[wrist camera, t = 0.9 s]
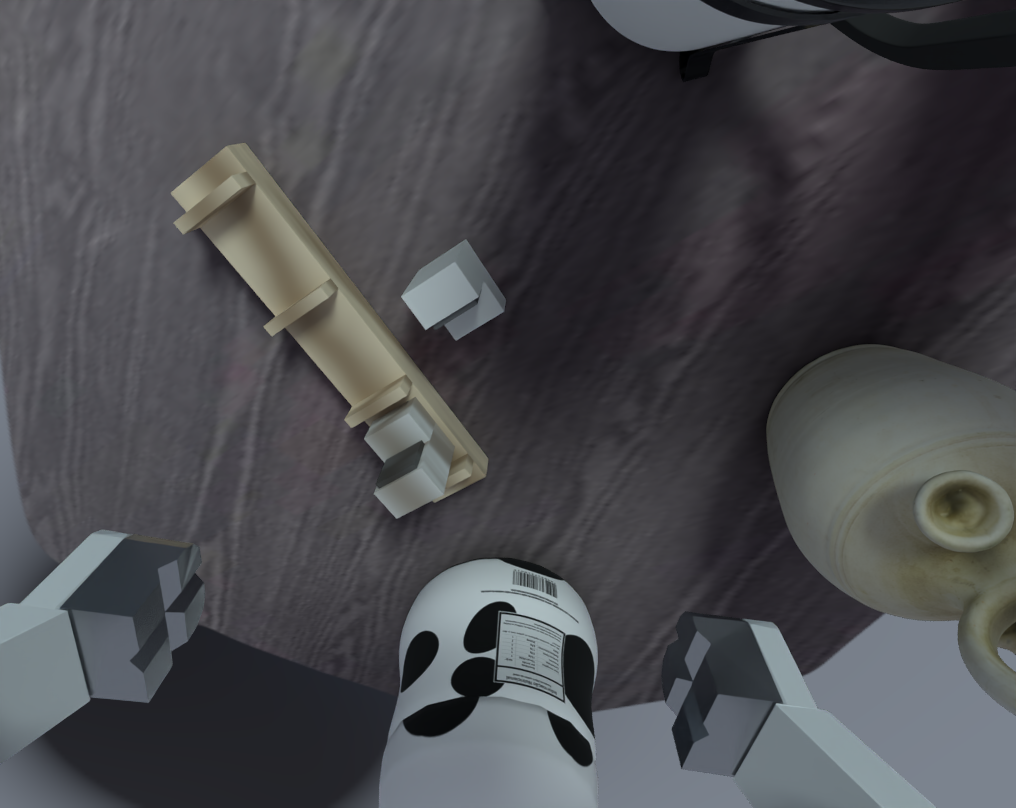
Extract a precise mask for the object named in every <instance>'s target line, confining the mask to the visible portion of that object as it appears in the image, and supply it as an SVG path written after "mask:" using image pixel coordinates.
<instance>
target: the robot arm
mask: <svg viewBox="0 0 1016 808" xmlns="http://www.w3.org/2000/svg"><path fill="white" fill-rule="evenodd" d="M201 563H202V560H201V554H200V547H199V546H197V545H195V544H191V543H185V542H179V541H173V540H167V539H161V538H154V537H148V536H142V535H136V534H133V535H132V534H126V533H120V532H114V531H108V530H100V531H97V532H95V533H92V534H91V535H90V536H89V537H87V538H86V539H85V540H84V541H83V542H82V543H81V544H80V545H79V546H78V547H77V548H76V549H75V550H74V551H73V552H72V553H71V554H70V555H69V556H68V557H67V558H66V559H65V560H64V561H63V562H62V563H61V564H60V565H59V566H58V567H57V568H56V569H55V570H54V571H53V572H52V573H51V574H50V575H49V576H48V577H47V578H46V579H45V580H44V581H42V583H41V584H40V585H38V586H37V587H36V588H35V589H34V590H33V591H32V592H31V593H30V594H29V595H28V596H27V597H26V598H25V599H24V600H23V601H22V602H21V603H20V604H13V603H8V604H5V605H3V606H1V607H0V764H2V763H3V762H5V761H6V760H7V759H9V758H10V757H11V756H13V755H15V754H16V753H17V752H19V751H20V750H21V749H23V748H24V747H26V746H27V745H29V744H30V743H31V742H33V741H34V740H36V739H37V738H38V737H39V736H41V735H42V734H44V733H45V732H47V731H48V730H50V729H51V728H52V727H54V726H55V725H57V724H58V723H59V722H61V721H62V720H64V719H65V718H66V717H68V716H69V715H71V714H72V713H73V712H75V711H76V710H78V709H79V708H80V707H82V706H83V705H85V704H86V703H87V702H89V701H90V697H95V698H105V699H116V700H126V701H137V702H148V703H149V701H150V700H151V698H152V696H153V695H154V693H155V692H156V690H157V689H158V687H159V686H160V684H161V682H162V681H163V679H164V678H165V676H166V675H167V673H168V672H169V670H170V668H171V667H172V665H173V664H172V657H171V651H172V650H174V649H176V648H177V647H179V646H180V645H182V644H184V643H185V642H187V641H188V640H189V638H190V636H191V635H192V633H193V631H194V630H195V628H196V627H197V624H198V621H199V619H200V616H201V613H202V610H203V606H204V598H205V588H204V582H203V581H202V580H201V579H200V578H199V577H198V576H197V575H196V573H195V572H196V570H197V569H198V567H199V566H200V564H201ZM676 631H677V634H678V638H679V639H677V640H676V641H674V642H673V643H671V644H670V645H668V647H667V650H666V653H665V655H664V658H663V665H662V675H661V677H662V689H663V693H664V698H665V703H666V704H667V705H668V706H669V708H670V709H671V710H672V711H673V712H674V713H675V714H676V716H677V718H676V720H675V722H674V725H673V727H672V732H673V736H674V740H675V744H676V749H677V752H678V756H679V761H680V765H681V769H685V770H692V771H698V772H704V773H711V774H718V775H724V776H731V777H734V779H733V780H734V782H735V783H736V785H737V786H738V787H739V789H740V790H741V791H742V793H743V794H744V795H745V797H746V798H747V800H748V801H749V802H750V804H751V805H752V806H753V808H936V807H935V806H934V805H933V804H932V803H931V802H929V801H928V800H927V799H926V798H925V797H924V796H923V795H922V794H920V793H919V792H918V791H917V790H916V789H915V788H914V787H913V786H912V785H910V784H909V783H908V782H907V781H906V780H905V779H904V778H903V777H901V776H900V775H899V774H898V773H897V772H896V771H895V770H893V769H892V768H891V767H890V766H889V765H888V764H887V763H886V762H885V761H884V760H882V759H881V758H880V757H879V756H878V755H877V754H876V753H875V752H873V751H872V750H871V749H870V748H869V747H868V746H866V744H865V743H863V742H862V741H861V740H860V739H859V738H858V737H857V736H856V735H854V734H853V733H852V732H851V731H850V730H849V729H848V728H847V727H845V726H844V725H843V724H842V723H841V722H840V721H839V720H838V719H836V718H835V717H834V716H833V715H832V714H831V713H830V712H829V711H827V710H822V709H818V707H817V705H816V703H815V701H814V699H813V697H812V695H811V693H810V691H809V689H808V687H807V685H806V683H805V681H804V679H803V677H802V675H801V673H800V671H799V669H798V667H797V665H796V663H795V661H794V659H793V657H792V655H791V653H790V651H789V649H788V647H787V645H786V643H785V641H784V639H783V637H782V635H781V633H780V631H779V629H778V627H777V626H776V625H775V624H773V623H772V622H766V621H758V620H750V619H740V618H733V617H725V616H718V615H710V614H702V613H694V612H686V611H685V612H684V613H683V614H682V615H681V616H680V618H679V620H678V622H677V625H676Z"/></svg>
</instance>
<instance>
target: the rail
mask: <svg viewBox="0 0 1016 808" xmlns="http://www.w3.org/2000/svg"><path fill="white" fill-rule="evenodd" d="M171 194H172V195H173V196H174V198H175V199H176V200H177V201H178V202H179V204H180V205H181V206H182V207H183V208H184V209H185V211H186V213H185V214H184V215H183V216H181V217H180V218H179V219H178V220H177V221H175V222H174V224H175V225H176V227H177V228H178V229H179V230H180V231H181V232H182V233H183V234H186V233H188V232H191V231H193V230H196V229H198V228H201V229H202V231H203V232H204V233H205V234H206V235H207V236H208V238H209V239H210V240H211V241H212V242H213V243H214V245H215V246H216V247H217V248H218V249H219V251H220V252H221V253H222V254H223V255H224V256H225V258H226V259H227V260H228V261H229V262H230V263H231V265H232V266H233V267H234V268H235V269H236V270H237V272H238V273H239V274H240V275H241V276H242V278H243V279H244V280H245V281H246V282H247V283H248V285H249V286H250V287H251V288H252V289H253V290H254V292H255V293H256V294H257V295H258V296H259V297H260V299H261V300H262V301H263V302H264V303H265V305H266V306H267V307H268V308H269V309H270V310H271V312H272V313H273V314H274V315H275V317H274V318H273V319H272V320H271V321H269V322H268V323H267V324H266V325H265V326H264V328H265V329H266V330H267V331H268V333H269V334H270V335H271V336H273V335H275V334H276V333H278V332H279V331H281V330H282V329H283V328H286V329H287V330H288V332H289V333H290V334H291V335H292V336H293V337H294V339H295V340H296V341H297V342H298V343H299V344H300V346H301V347H302V348H303V349H304V350H305V352H306V353H307V354H308V355H309V356H310V357H311V359H312V360H313V361H314V362H315V363H316V364H317V366H318V367H319V368H320V369H321V370H322V372H323V373H324V374H325V375H326V376H327V377H328V379H329V380H330V381H331V382H332V383H333V384H334V386H335V387H336V388H337V389H338V390H339V391H340V393H341V394H342V395H343V396H344V397H345V399H346V400H347V401H348V402H349V403H350V404H351V406H352V408H351V409H350V411H349V413H348V414H347V416H346V418H345V421H346V422H347V424H348V425H349V426H350V427H351V428H353V427H354V426H356V425H358V424H360V423H361V422H363V421H365V422H366V423H367V424H368V426H369V427H370V428H369V430H368V432H367V434H366V436H365V438H364V440H365V441H366V442H367V443H368V444H369V445H370V447H371V448H372V449H373V450H374V451H375V452H376V454H377V455H378V456H379V457H380V458H381V459H382V460H383V462H384V466H383V468H382V471H381V473H380V475H379V478H378V480H377V483H376V486H377V487H376V489H375V492H374V494H375V495H376V496H377V498H378V499H379V500H380V501H381V502H382V503H383V504H384V505H385V506H386V508H387V509H388V510H389V511H390V512H391V513H392V514H393V515H394V516H395V518H396V519H397V518H399V517H401V516H403V515H405V514H407V513H409V512H411V511H413V510H415V509H417V508H419V507H421V506H423V505H425V504H427V503H428V502H430V501H433V502H434V503H435V502H437V501H439V500H441V499H443V498H445V497H447V496H449V495H451V494H453V493H455V492H457V491H459V490H461V489H463V488H465V487H467V486H469V485H470V484H472V483H474V482H476V481H478V480H480V479H482V478H484V477H486V473H487V466H488V458H487V456H486V455H485V454H484V452H483V451H482V450H481V448H480V447H479V446H478V445H477V443H476V442H475V441H474V439H473V438H472V437H471V436H470V434H469V433H468V432H467V430H466V429H465V428H464V426H463V425H462V424H461V423H460V421H459V420H458V419H457V417H456V416H455V415H454V413H453V412H452V411H451V410H450V408H449V407H448V406H447V404H446V403H445V402H444V400H443V399H442V398H441V397H440V395H439V394H438V393H437V391H436V390H435V389H434V387H433V386H432V385H431V384H430V382H429V381H428V380H427V378H426V377H425V376H424V374H423V373H422V372H421V371H420V369H419V368H418V367H417V365H416V364H415V363H414V361H413V360H412V359H411V358H410V356H409V355H408V354H407V352H406V351H405V350H404V348H403V347H402V346H401V345H400V343H399V342H398V341H397V339H396V338H395V337H394V335H393V334H392V333H391V332H390V330H389V329H388V328H387V326H386V325H385V324H384V322H383V321H382V320H381V319H380V317H379V316H378V315H377V313H376V312H375V311H374V309H373V308H372V307H371V306H370V304H369V303H368V302H367V300H366V299H365V298H364V296H363V295H362V294H361V293H360V291H359V290H358V289H357V287H356V286H355V285H354V283H353V282H352V281H351V280H350V278H349V277H348V276H347V274H346V273H345V272H344V270H343V269H342V268H341V267H340V265H339V264H338V263H337V261H336V260H335V259H334V258H333V256H332V255H331V254H330V252H329V251H328V250H327V248H326V247H325V246H324V245H323V243H322V242H321V241H320V239H319V238H318V237H317V235H316V234H315V233H314V232H313V230H312V229H311V228H310V226H309V225H308V224H307V222H306V221H305V220H304V219H303V217H302V216H301V215H300V213H299V212H298V211H297V209H296V208H295V207H294V206H293V204H292V203H291V202H290V200H289V199H288V198H287V196H286V195H285V194H284V193H283V191H282V190H281V189H280V187H279V186H278V185H277V183H276V182H275V181H274V180H273V178H272V177H271V176H270V174H269V173H268V172H267V170H266V169H265V168H264V167H263V165H262V164H261V163H260V161H259V160H258V159H257V157H256V156H255V155H254V154H253V152H252V151H251V150H250V148H249V147H248V146H247V144H246V143H241V144H235V145H229V146H226V147H225V148H224V149H222V150H221V151H220V152H219V153H218V154H217V155H215V156H214V157H213V158H212V159H211V160H209V161H208V162H207V163H206V164H205V165H203V166H202V167H201V168H200V169H199V170H197V171H196V172H195V173H194V174H193V175H191V176H190V177H189V178H188V179H187V180H185V181H184V182H183V183H182V184H181V185H180V186H178V187H177V188H176V189H175V190H174V191H172V192H171Z"/></svg>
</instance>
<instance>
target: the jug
mask: <svg viewBox="0 0 1016 808" xmlns="http://www.w3.org/2000/svg"><path fill="white" fill-rule="evenodd" d="M766 435H767V450H768V457H769V463H770V468H771V472H772V476H773V480H774V484H775V488H776V491H777V495H778V498H779V502H780V505H781V509H782V512H783V515H784V518H785V521H786V524H787V526H788V529H789V531H790V533H791V535H792V537H793V539H794V541H795V543H796V544H797V546H798V547H799V549H800V550H801V552H802V553H803V554H804V556H805V557H806V558H807V560H808V561H809V562H810V563H811V564H812V565H813V566H814V567H815V568H816V570H817V571H818V572H819V573H820V574H821V575H822V576H824V577H825V578H826V579H827V580H828V581H830V582H831V583H832V584H833V585H835V586H836V587H837V588H838V589H840V590H841V591H843V592H844V593H846V594H847V595H849V596H851V597H852V598H854V599H856V600H857V601H859V602H861V603H862V604H864V605H866V606H868V607H871V608H873V609H875V610H878V611H881V612H883V613H887V614H890V615H894V616H898V617H902V618H907V619H913V620H922V621H951V620H960V621H959V624H958V645H959V649H960V653H961V656H962V659H963V661H964V663H965V664H966V667H967V669H968V670H969V672H970V674H971V675H972V677H973V678H974V679H975V681H976V682H977V683H978V684H979V686H980V687H981V688H982V689H983V690H984V691H985V692H986V693H987V694H988V695H989V696H990V697H991V698H992V699H993V700H995V701H996V702H997V703H998V704H1000V705H1001V706H1002V707H1004V708H1005V709H1006V710H1008V711H1009V712H1011V713H1012V714H1014V715H1015V716H1016V672H1015V671H1013V670H1012V669H1011V668H1010V667H1008V666H1007V665H1006V664H1005V663H1004V662H1003V661H1002V659H1001V658H1000V657H999V655H998V651H997V647H1000V648H1003V649H1008V650H1010V651H1012V652H1013V653H1014V654H1015V655H1016V391H1015V390H1013V389H1011V388H1009V387H1007V386H1005V385H1003V384H1000V383H998V382H996V381H993V380H991V379H989V378H986V377H984V376H981V375H979V374H976V373H973V372H970V371H968V370H965V369H962V368H959V367H956V366H953V365H950V364H947V363H944V362H941V361H938V360H936V359H934V358H931V357H928V356H926V355H923V354H920V353H916V352H913V351H909V350H903V349H899V348H896V347H891V346H886V345H879V344H863V345H855V346H850V347H846V348H842V349H838V350H835V351H833V352H830V353H828V354H826V355H823V356H821V357H819V358H817V359H816V360H814V361H812V362H811V363H809V364H807V365H806V366H804V367H803V368H802V369H800V370H799V371H798V372H797V373H796V374H795V375H794V376H793V377H792V378H791V379H790V380H789V381H788V382H787V383H786V384H785V385H784V387H783V388H782V389H781V391H780V392H779V393H778V395H777V397H776V398H775V400H774V402H773V404H772V407H771V409H770V412H769V416H768V420H767V426H766Z"/></svg>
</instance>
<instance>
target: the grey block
mask: <svg viewBox="0 0 1016 808" xmlns="http://www.w3.org/2000/svg"><path fill="white" fill-rule="evenodd" d="M401 297H402V299H403V300H404V301H405V303H406V304H407V305H408V307H409V308H410V309H411V311H412V312H413V314H414V315H415V316H416V318H417V319H418V320H419V322H420V323H421V324H422V326H423V327H424V328H425V330H426V329H428V328H429V327H431V326H432V327H433V328H434V329H435V330H437V329H438V328H440V327H442V326H443V325H445V327H446V328H447V329H448V331H449V332H450V334H451V335H452V336H453V338H454V339H455V340H458V339H460V338H461V337H463V336H465V335H466V334H468V333H469V332H471V331H473V330H474V329H476V328H478V327H479V326H481V325H483V324H484V323H486V322H488V321H489V320H491V319H493V318H494V317H496V316H498V315H499V314H501V313H503V312H504V311H505V304H506V299H505V297H504V296H503V294H502V293H501V291H500V290H499V288H498V287H497V285H496V284H495V282H494V281H493V279H492V278H491V276H490V275H489V273H488V272H487V270H486V269H485V267H484V266H483V264H482V262H481V261H480V259H479V258H478V256H477V255H476V253H475V252H474V250H473V249H472V247H471V246H470V244H469V243H468V241H467V240H466V239H465V240H464V241H462V242H461V243H459V244H458V245H456V246H455V247H453V248H452V249H450V250H449V251H447V252H446V253H444V254H443V255H441V256H440V257H438V258H437V259H435V260H434V261H432V262H431V263H429V264H428V265H426V266H425V267H423V268H422V269H420V270H419V271H418V272H417V274H416V275H415V277H414V278H413V280H412V281H411V283H410V284H409V286H408V287H407V289H406V290H405V292H404V293H403V295H402V296H401Z"/></svg>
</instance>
